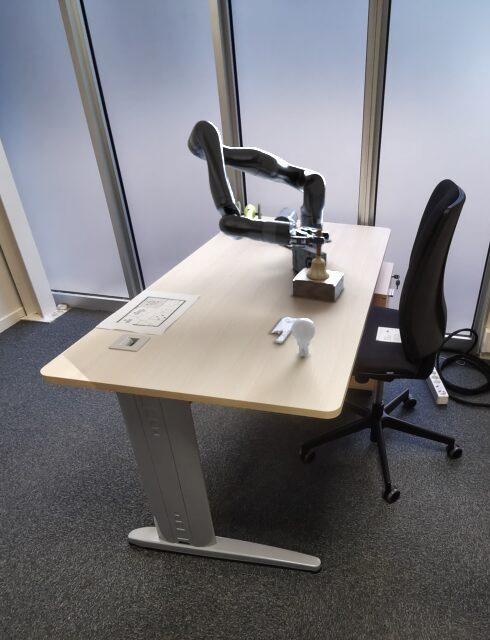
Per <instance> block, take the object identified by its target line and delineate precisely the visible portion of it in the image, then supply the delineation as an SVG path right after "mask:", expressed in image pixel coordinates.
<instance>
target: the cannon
mask: <svg viewBox="0 0 490 640" xmlns="http://www.w3.org/2000/svg"><path fill="white" fill-rule="evenodd" d="M241 204H242V203H241V202H240V200H238V201H236V206H237V208H238V210H239V212H240V214H241V216H242V217H246V218H249V219H256V216H257V220H262V215H263V214H262V205H261V201H257V209H256V207H255V206H254V205H252V204H251V203H248V205H246V206H245V207H244V211H242V205H241Z"/></svg>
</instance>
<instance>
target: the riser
mask: <svg viewBox="0 0 490 640" xmlns="http://www.w3.org/2000/svg"><path fill="white" fill-rule="evenodd" d="M309 270H310V268H303V270H302V271H301V272H298V274H296V276H294V278H293V279H292V297H294V298H302V299H309V300H310V299H311V300H316V301H325V302H330V303H335V302H336V301H337V299H338V297H339V296H340V294H341V292H342V291H343V289H344V277H345V273H343V272H340V271H333V270H327V272H328V273H329V274H330V277H329V278H327V279H323V280H316V279H311V278H309V277H307V276H306V274H307V272H308V271H309Z"/></svg>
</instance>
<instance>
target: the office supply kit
mask: <svg viewBox="0 0 490 640" xmlns="http://www.w3.org/2000/svg"><path fill="white" fill-rule="evenodd" d="M298 219H299V216H298V212H297V211H296V209H295V208H293V207H291V206H287V207H283V209H282V210H281V211H280V212H279V213H278V214H277V216H276V217H275V218H274V219H273V221H282V222H291V223H293V225H294V228H295V229H298V227H297V226H298V225H297V223H298ZM325 232H328V233H329V231H328V230H326V231H325ZM330 241H331V238H330V237H329V239H325V242H327V243H329V242H330Z"/></svg>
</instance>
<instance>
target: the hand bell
mask: <svg viewBox="0 0 490 640" xmlns="http://www.w3.org/2000/svg"><path fill="white" fill-rule="evenodd" d="M316 236H317V237H323V235H322V231H321V229H317V232H316ZM321 246H322V247H323V245H322V244H316V248H317V250H316V258H315V259H313V260H312V265H311V268H310V270H309V271H308V272H307V274H306V276H307V277H309V278H311V279H316V280H323V279H327V278H329V277H330V274H329V273H328V272H327V271H328V270H327V266H326V267H325V261H324V260H323V259H322V258H321Z"/></svg>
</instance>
